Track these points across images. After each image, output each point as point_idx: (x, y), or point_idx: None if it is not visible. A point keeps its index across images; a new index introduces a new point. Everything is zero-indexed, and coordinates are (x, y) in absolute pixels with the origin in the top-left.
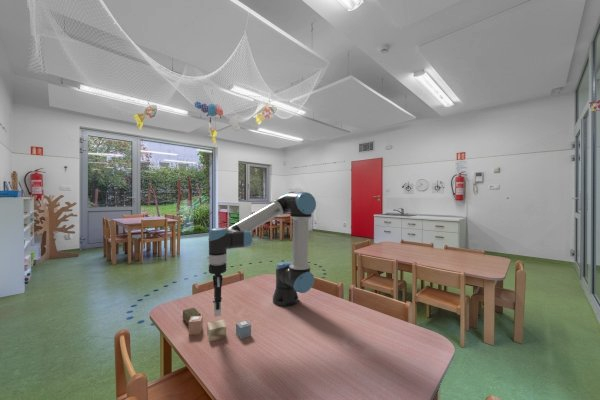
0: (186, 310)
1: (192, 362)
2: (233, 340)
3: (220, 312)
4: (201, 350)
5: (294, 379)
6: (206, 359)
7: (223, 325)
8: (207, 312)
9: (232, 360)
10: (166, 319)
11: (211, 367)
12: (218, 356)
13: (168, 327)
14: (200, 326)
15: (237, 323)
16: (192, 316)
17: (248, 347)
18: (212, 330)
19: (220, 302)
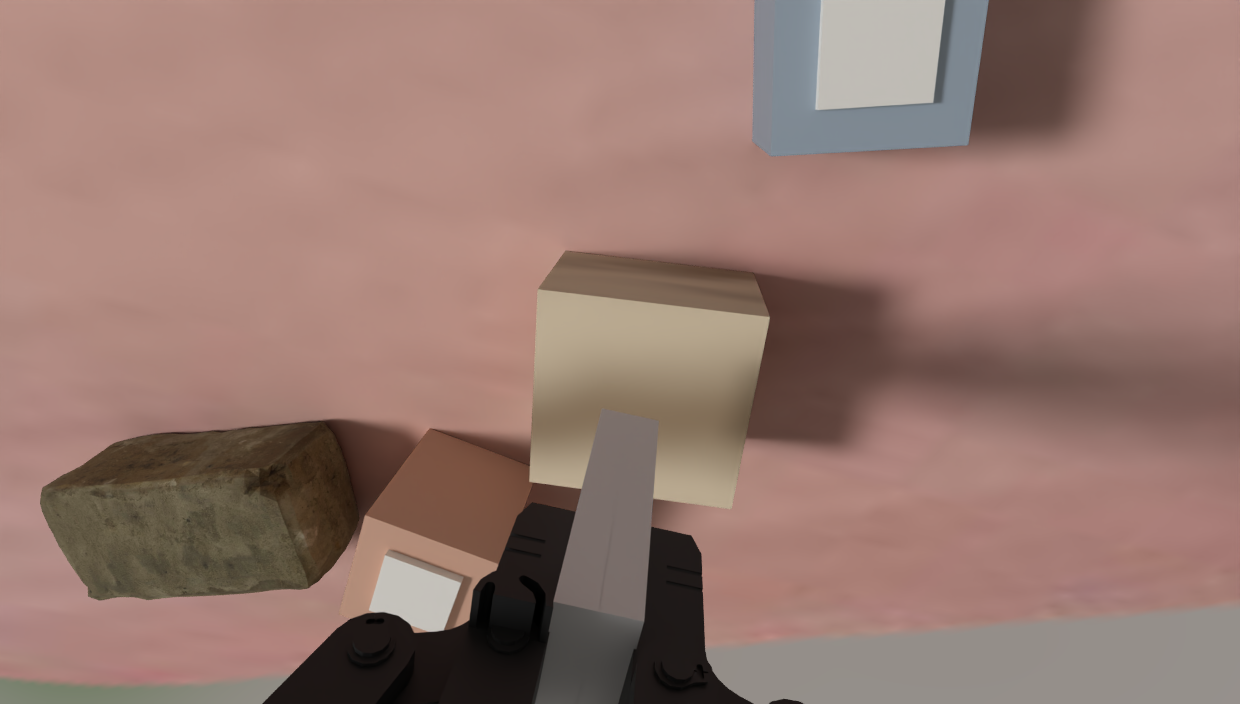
0: (110, 581)
1: (954, 612)
2: (876, 219)
3: (655, 457)
4: (833, 526)
5: None
6: (1001, 526)
7: (721, 340)
8: (61, 295)
9: (1220, 349)
10: (140, 633)
11: (1147, 523)
12: (1042, 436)
13: (297, 644)
14: None
15: (795, 137)
16: (343, 604)
17: (1158, 105)
18: (735, 469)
19: (643, 604)
